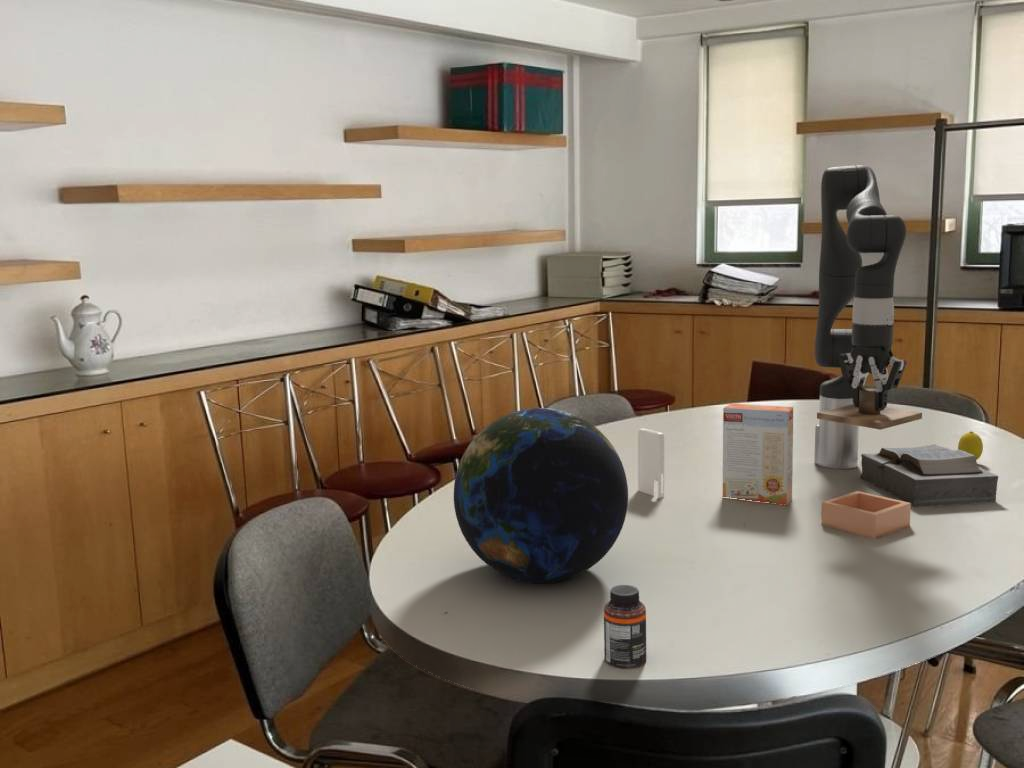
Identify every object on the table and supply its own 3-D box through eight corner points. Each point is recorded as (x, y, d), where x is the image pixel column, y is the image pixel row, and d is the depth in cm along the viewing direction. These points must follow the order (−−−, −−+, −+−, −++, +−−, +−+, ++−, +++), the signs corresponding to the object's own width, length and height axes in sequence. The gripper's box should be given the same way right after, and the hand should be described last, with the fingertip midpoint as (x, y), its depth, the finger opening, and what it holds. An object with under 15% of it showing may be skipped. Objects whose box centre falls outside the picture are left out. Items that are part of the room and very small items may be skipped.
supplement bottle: (617, 653, 153) (616, 578, 151) (654, 662, 149) (654, 586, 148) (596, 668, 148) (595, 591, 146) (634, 678, 145) (633, 600, 143)
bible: (890, 510, 220) (892, 464, 219) (854, 476, 247) (856, 435, 245) (1004, 509, 219) (1006, 463, 218) (955, 475, 246) (957, 434, 244)
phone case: (637, 494, 235) (637, 428, 233) (642, 493, 236) (642, 427, 233) (659, 501, 229) (659, 434, 226) (664, 500, 230) (664, 433, 227)
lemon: (984, 466, 252) (986, 434, 251) (959, 465, 253) (961, 433, 252) (979, 461, 257) (980, 429, 256) (955, 460, 259) (956, 428, 257)
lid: (816, 418, 206) (817, 390, 205) (858, 408, 214) (859, 381, 213) (880, 429, 195) (881, 400, 194) (921, 418, 203) (923, 390, 202)
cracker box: (792, 500, 227) (794, 405, 224) (786, 508, 222) (788, 411, 219) (728, 494, 234) (730, 401, 230) (721, 501, 228) (722, 406, 225)
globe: (656, 596, 174) (656, 419, 169) (481, 620, 166) (476, 434, 161) (592, 542, 203) (590, 389, 198) (439, 560, 194) (433, 400, 189)
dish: (821, 526, 209) (822, 502, 208) (856, 514, 217) (857, 490, 216) (874, 540, 200) (875, 515, 199) (909, 527, 207) (910, 502, 206)
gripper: (829, 319, 204) (826, 406, 207) (895, 325, 193) (891, 416, 196) (851, 316, 209) (849, 401, 212) (917, 321, 198) (913, 411, 201)
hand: (869, 408), depth 204 cm, fingers closed on lid, 4 cm apart
